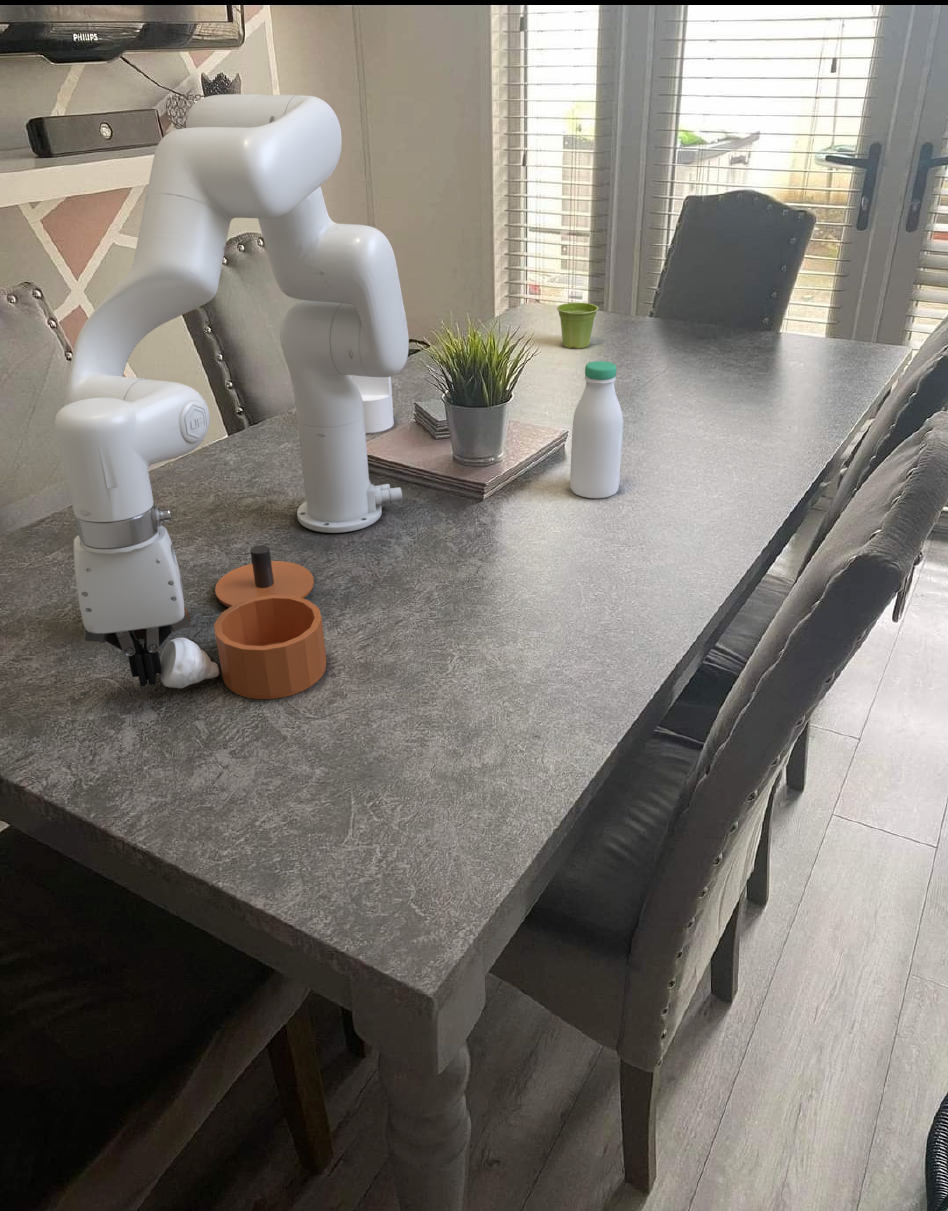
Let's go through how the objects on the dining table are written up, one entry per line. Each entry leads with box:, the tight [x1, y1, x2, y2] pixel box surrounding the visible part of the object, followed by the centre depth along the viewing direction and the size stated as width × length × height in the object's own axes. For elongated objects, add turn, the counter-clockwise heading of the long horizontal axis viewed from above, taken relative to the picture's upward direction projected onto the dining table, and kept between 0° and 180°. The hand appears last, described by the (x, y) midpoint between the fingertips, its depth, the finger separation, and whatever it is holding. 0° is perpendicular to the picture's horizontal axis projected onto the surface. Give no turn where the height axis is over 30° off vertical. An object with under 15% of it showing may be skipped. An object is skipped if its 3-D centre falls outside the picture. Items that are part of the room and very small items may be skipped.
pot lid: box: [214, 544, 315, 608], centre depth 124 cm, size 13×13×6 cm
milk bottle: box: [569, 360, 624, 499], centre depth 147 cm, size 8×8×20 cm
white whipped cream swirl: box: [158, 637, 220, 689], centre depth 106 cm, size 6×6×5 cm
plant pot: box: [556, 302, 599, 349], centre depth 221 cm, size 9×9×9 cm
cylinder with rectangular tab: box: [350, 375, 395, 434], centre depth 176 cm, size 9×9×12 cm
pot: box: [213, 595, 327, 700], centre depth 108 cm, size 12×12×6 cm
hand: (148, 679), depth 105 cm, fingers closed
